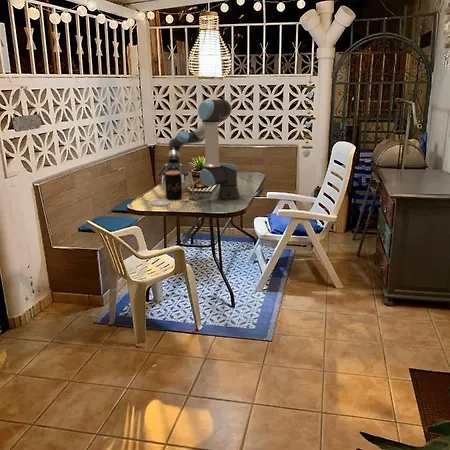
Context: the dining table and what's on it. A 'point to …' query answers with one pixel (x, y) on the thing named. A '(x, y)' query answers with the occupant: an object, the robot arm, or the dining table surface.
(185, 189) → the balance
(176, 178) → the coffee jar
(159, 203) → the dish
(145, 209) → the dining table surface
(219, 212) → the dining table surface
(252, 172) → the dining table surface
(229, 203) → the dining table surface
